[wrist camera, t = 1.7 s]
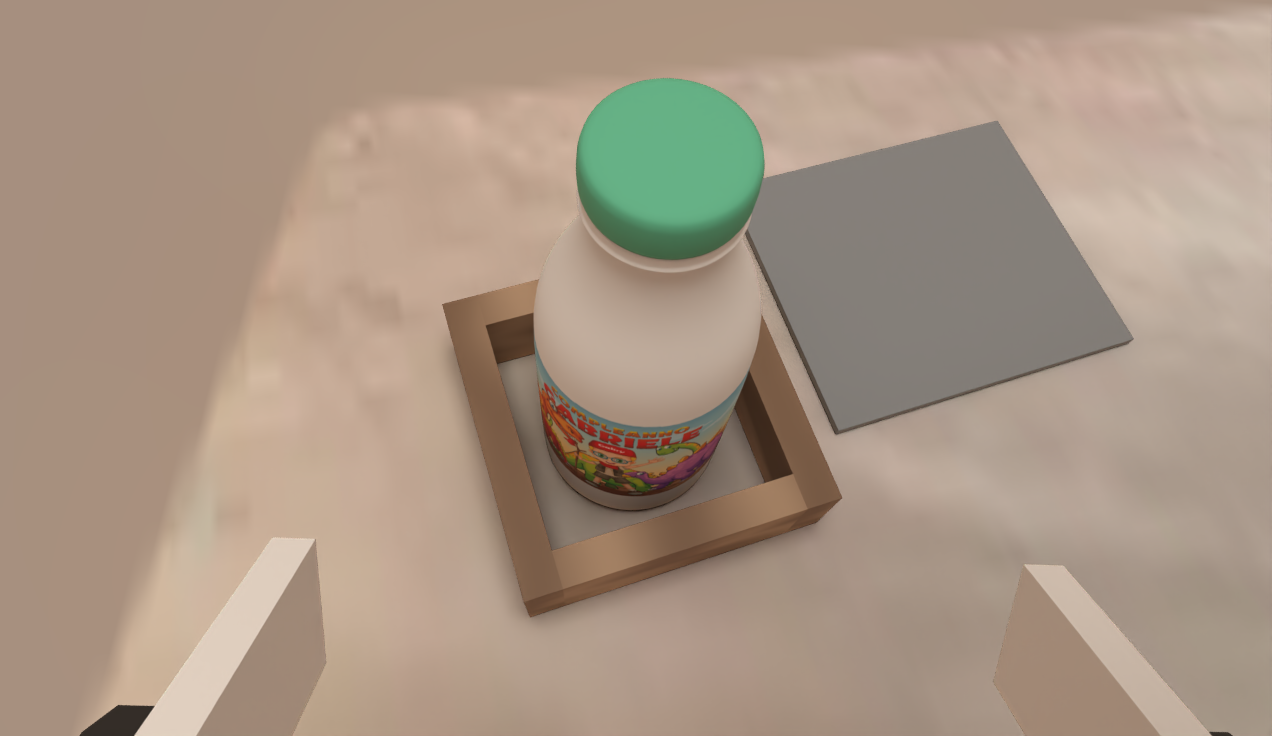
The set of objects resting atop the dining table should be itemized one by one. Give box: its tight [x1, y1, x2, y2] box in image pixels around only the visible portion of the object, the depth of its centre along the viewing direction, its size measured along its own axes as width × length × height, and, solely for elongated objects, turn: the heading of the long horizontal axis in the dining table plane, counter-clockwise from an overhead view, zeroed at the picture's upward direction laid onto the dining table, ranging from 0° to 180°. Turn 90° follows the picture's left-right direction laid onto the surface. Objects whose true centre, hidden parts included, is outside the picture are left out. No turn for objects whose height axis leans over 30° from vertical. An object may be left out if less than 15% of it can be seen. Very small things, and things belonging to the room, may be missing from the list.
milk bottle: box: [534, 78, 764, 510], centre depth 29 cm, size 8×8×20 cm
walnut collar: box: [442, 279, 842, 617], centre depth 36 cm, size 13×13×4 cm
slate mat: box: [745, 121, 1134, 434], centre depth 42 cm, size 16×14×1 cm
